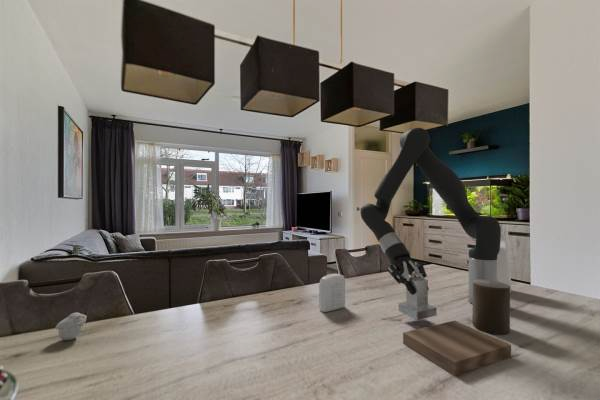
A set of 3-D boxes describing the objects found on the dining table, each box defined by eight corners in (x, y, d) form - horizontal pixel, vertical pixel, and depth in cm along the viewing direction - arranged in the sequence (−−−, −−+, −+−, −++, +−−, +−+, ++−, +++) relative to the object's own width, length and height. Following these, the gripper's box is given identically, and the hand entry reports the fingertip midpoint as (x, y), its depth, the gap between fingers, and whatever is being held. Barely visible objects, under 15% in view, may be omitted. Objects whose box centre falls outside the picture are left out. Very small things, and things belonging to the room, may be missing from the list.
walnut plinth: (454, 330, 88) (454, 320, 88) (511, 356, 73) (511, 344, 73) (403, 343, 80) (403, 332, 80) (454, 375, 65) (454, 362, 65)
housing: (417, 307, 99) (416, 274, 99) (436, 315, 92) (436, 280, 92) (398, 310, 96) (398, 277, 96) (417, 320, 89) (416, 283, 89)
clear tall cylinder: (474, 290, 127) (474, 230, 127) (479, 284, 135) (479, 228, 135) (508, 296, 119) (508, 232, 119) (511, 290, 128) (511, 230, 128)
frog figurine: (88, 338, 83) (88, 313, 83) (56, 347, 78) (56, 320, 78) (84, 331, 87) (84, 308, 87) (53, 339, 82) (53, 314, 82)
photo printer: (339, 304, 110) (339, 271, 110) (347, 307, 106) (347, 273, 106) (317, 309, 104) (317, 275, 104) (324, 313, 101) (324, 277, 101)
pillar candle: (498, 337, 83) (499, 285, 83) (465, 324, 92) (466, 276, 92) (516, 331, 88) (517, 281, 88) (483, 319, 96) (484, 273, 96)
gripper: (382, 243, 98) (409, 289, 87) (414, 240, 104) (443, 283, 93) (372, 256, 103) (397, 301, 92) (404, 252, 109) (430, 295, 98)
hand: (420, 292), depth 93 cm, fingers closed on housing, 4 cm apart
